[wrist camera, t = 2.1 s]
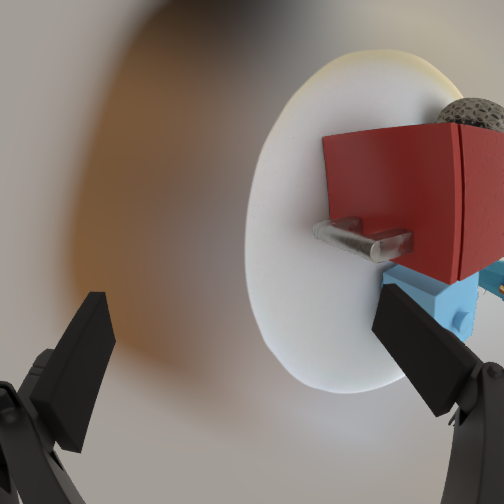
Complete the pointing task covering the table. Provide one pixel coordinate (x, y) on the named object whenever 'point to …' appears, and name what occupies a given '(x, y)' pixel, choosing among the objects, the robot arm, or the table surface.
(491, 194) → the red cabinet body
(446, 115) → the decorative egg
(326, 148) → the cabinet door
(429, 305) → the teapot
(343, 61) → the table surface
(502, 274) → the cup
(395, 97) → the table surface
